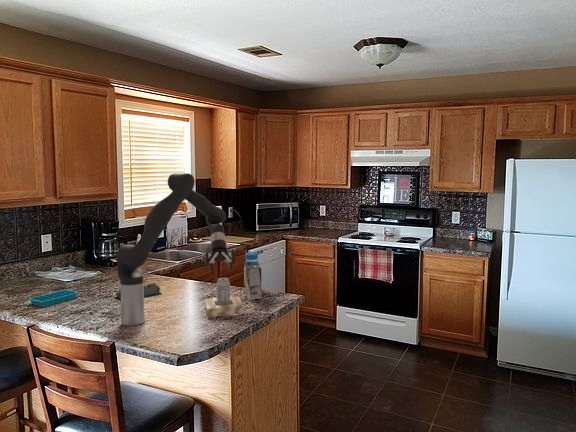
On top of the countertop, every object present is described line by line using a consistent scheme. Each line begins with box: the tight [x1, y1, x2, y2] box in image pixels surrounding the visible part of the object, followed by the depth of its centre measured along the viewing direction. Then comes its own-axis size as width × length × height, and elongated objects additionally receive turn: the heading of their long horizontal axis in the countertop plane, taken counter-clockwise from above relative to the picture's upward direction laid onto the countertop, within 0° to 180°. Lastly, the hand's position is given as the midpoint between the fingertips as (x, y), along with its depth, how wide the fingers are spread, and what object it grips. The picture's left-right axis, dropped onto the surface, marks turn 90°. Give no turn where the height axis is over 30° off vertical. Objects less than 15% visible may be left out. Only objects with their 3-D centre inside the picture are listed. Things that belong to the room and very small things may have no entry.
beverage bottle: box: [243, 251, 260, 291], centre depth 243 cm, size 8×8×20 cm
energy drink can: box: [216, 277, 231, 305], centre depth 206 cm, size 6×6×15 cm
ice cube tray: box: [28, 289, 80, 307], centre depth 225 cm, size 12×20×3 cm, turn 151°
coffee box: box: [244, 265, 263, 301], centre depth 228 cm, size 9×6×16 cm
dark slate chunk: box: [115, 282, 163, 300], centre depth 234 cm, size 15×22×5 cm
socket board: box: [204, 296, 245, 318], centre depth 207 cm, size 16×16×4 cm
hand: (221, 270), depth 214 cm, fingers open, 8 cm apart
